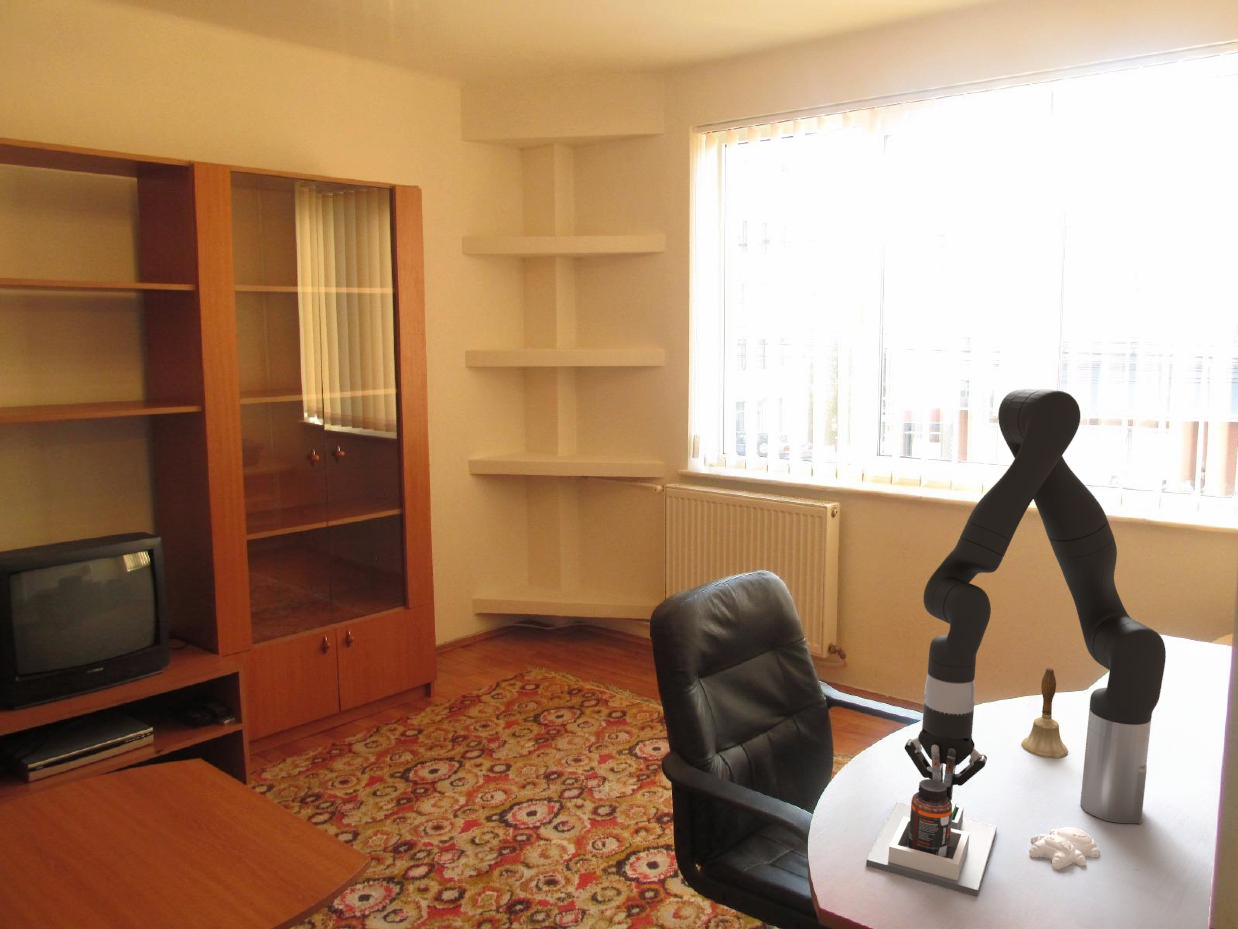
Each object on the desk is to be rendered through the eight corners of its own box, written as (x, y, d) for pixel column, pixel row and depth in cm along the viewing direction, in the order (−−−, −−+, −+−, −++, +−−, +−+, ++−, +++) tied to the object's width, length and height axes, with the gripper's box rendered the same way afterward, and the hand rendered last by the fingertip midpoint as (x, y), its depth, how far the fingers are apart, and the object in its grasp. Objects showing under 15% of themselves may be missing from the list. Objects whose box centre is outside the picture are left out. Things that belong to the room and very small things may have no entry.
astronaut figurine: (1014, 849, 154) (1015, 831, 153) (1064, 830, 160) (1066, 813, 159) (1062, 877, 146) (1064, 858, 146) (1113, 856, 152) (1115, 838, 152)
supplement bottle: (954, 865, 147) (959, 795, 145) (914, 865, 147) (919, 794, 145) (941, 843, 153) (946, 775, 151) (903, 843, 153) (907, 775, 151)
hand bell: (1021, 753, 186) (1027, 673, 184) (1021, 736, 194) (1027, 659, 191) (1068, 761, 183) (1076, 680, 181) (1067, 743, 191) (1074, 665, 188)
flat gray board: (996, 832, 158) (997, 811, 158) (977, 896, 141) (979, 874, 140) (895, 807, 166) (897, 787, 165) (866, 865, 148) (867, 844, 148)
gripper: (996, 702, 155) (988, 804, 158) (911, 686, 161) (904, 784, 164) (989, 719, 148) (981, 825, 151) (901, 702, 155) (894, 804, 157)
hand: (941, 804), depth 158 cm, fingers closed
